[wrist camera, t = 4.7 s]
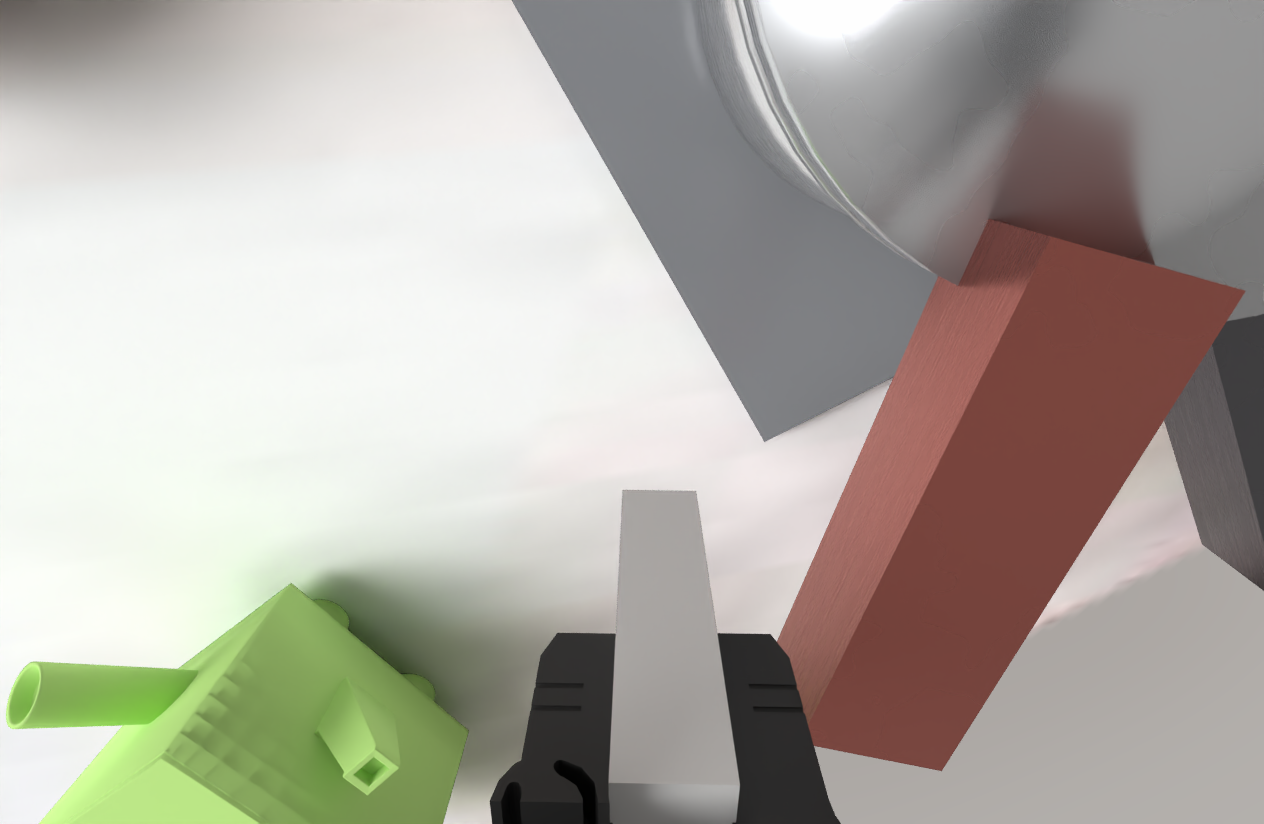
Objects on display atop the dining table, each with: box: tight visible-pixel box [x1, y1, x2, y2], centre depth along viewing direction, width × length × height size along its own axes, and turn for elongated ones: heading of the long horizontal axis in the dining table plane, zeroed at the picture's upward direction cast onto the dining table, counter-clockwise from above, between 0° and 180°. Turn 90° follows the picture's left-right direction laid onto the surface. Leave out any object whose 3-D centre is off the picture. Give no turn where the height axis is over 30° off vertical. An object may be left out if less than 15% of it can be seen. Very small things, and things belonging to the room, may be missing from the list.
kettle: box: [6, 583, 469, 824], centre depth 27 cm, size 15×14×11 cm
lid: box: [743, 0, 1264, 771], centre depth 10 cm, size 23×15×3 cm, turn 166°
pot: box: [697, 0, 1264, 590], centre depth 16 cm, size 23×15×10 cm, turn 31°
